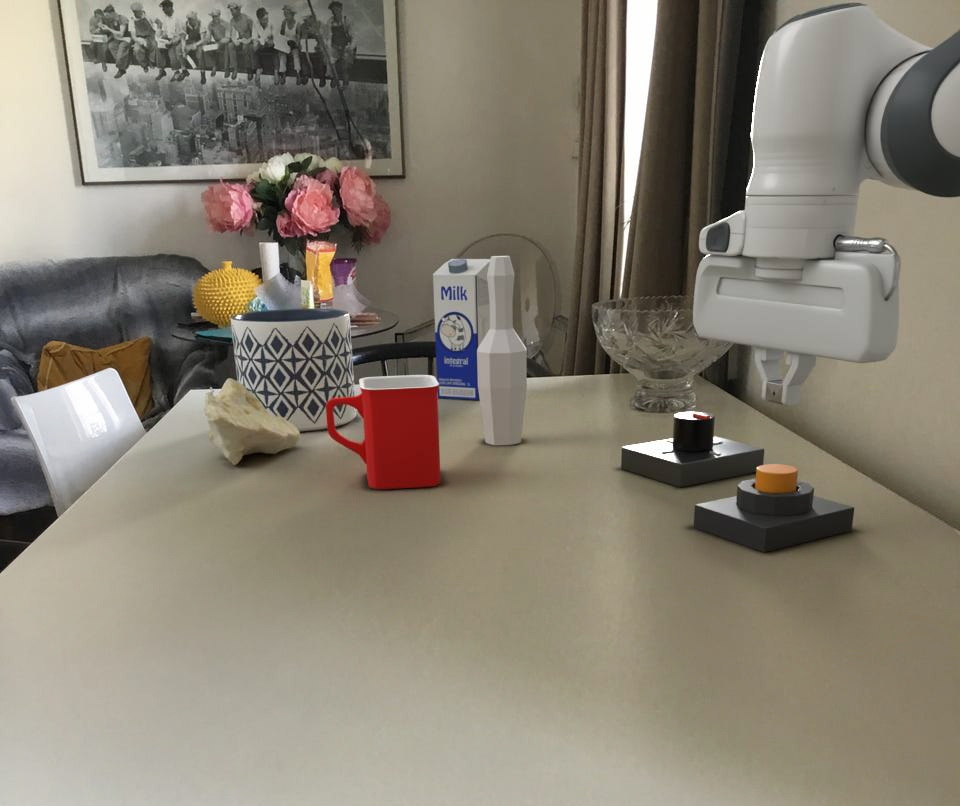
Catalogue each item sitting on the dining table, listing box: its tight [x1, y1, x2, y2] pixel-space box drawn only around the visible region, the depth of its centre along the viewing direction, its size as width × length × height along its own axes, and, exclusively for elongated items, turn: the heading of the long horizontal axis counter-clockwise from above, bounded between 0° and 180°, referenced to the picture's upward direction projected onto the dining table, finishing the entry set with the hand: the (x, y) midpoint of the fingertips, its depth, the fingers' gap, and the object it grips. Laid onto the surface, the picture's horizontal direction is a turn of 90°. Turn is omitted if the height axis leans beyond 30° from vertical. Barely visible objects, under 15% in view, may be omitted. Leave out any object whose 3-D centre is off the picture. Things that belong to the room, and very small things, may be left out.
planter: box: [230, 308, 357, 432], centre depth 145 cm, size 16×16×14 cm
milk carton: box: [431, 258, 491, 401], centre depth 160 cm, size 7×7×20 cm
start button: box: [755, 463, 799, 493], centre depth 95 cm, size 4×4×2 cm
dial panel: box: [620, 435, 765, 488], centre depth 117 cm, size 12×10×3 cm
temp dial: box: [672, 411, 716, 452], centre depth 116 cm, size 4×4×4 cm
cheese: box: [203, 377, 301, 466], centre depth 126 cm, size 15×7×15 cm
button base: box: [693, 477, 855, 553], centre depth 96 cm, size 11×9×4 cm
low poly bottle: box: [477, 255, 528, 446], centre depth 129 cm, size 6×6×22 cm
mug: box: [326, 374, 442, 490], centre depth 114 cm, size 12×8×11 cm
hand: (780, 402), depth 92 cm, fingers closed
